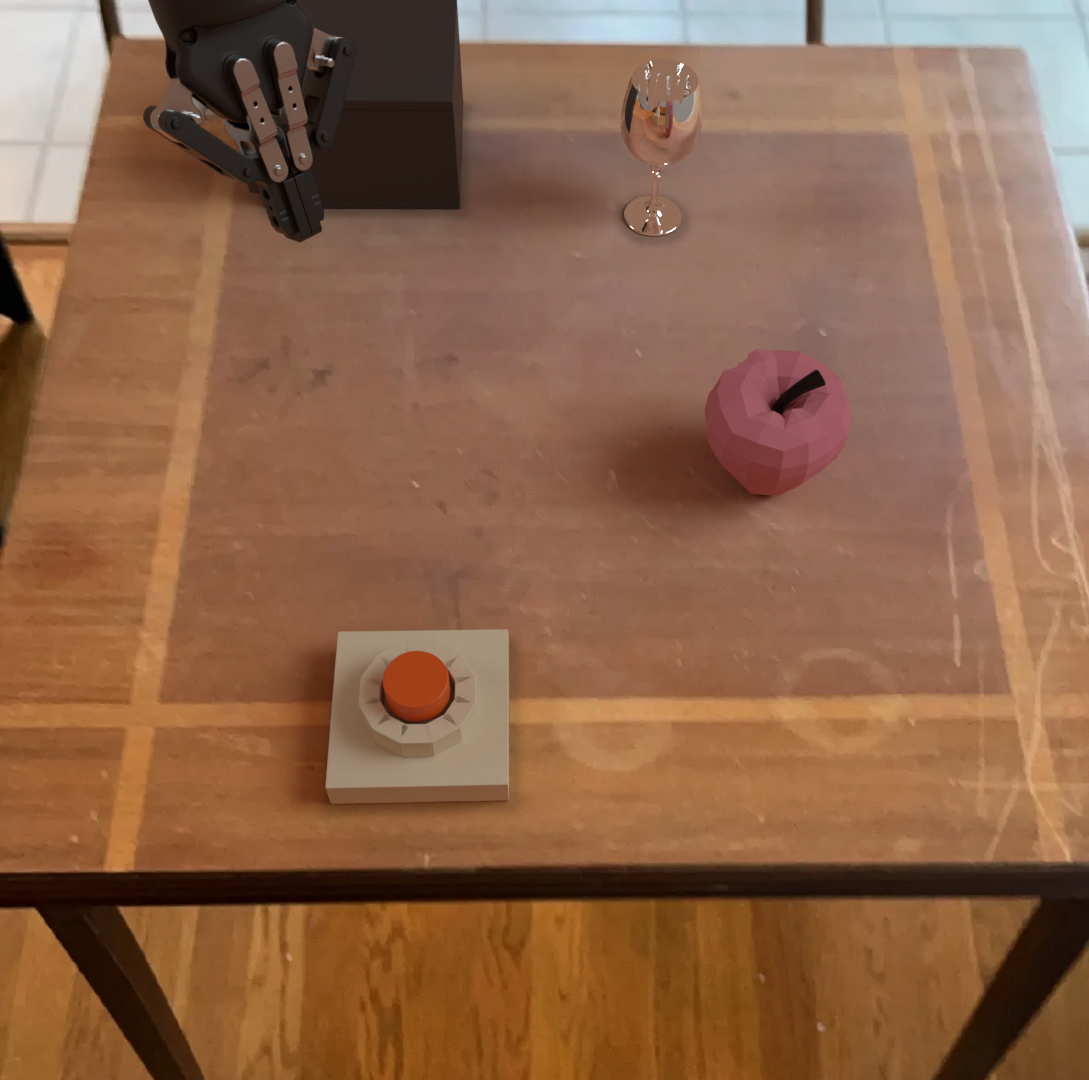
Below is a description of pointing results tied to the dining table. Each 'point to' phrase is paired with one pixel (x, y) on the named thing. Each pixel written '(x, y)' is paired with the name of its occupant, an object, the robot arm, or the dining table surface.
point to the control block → (427, 746)
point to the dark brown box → (394, 106)
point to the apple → (777, 420)
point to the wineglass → (660, 134)
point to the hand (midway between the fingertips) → (303, 234)
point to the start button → (416, 686)
